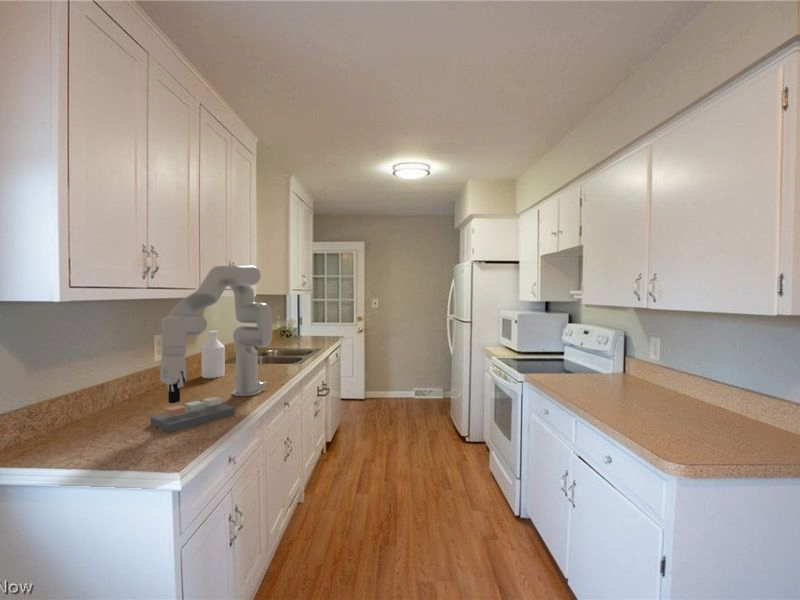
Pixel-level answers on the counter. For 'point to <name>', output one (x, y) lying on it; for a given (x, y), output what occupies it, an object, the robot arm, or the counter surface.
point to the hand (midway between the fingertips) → (174, 402)
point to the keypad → (192, 417)
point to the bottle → (213, 357)
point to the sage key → (194, 405)
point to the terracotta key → (174, 410)
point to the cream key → (212, 401)
